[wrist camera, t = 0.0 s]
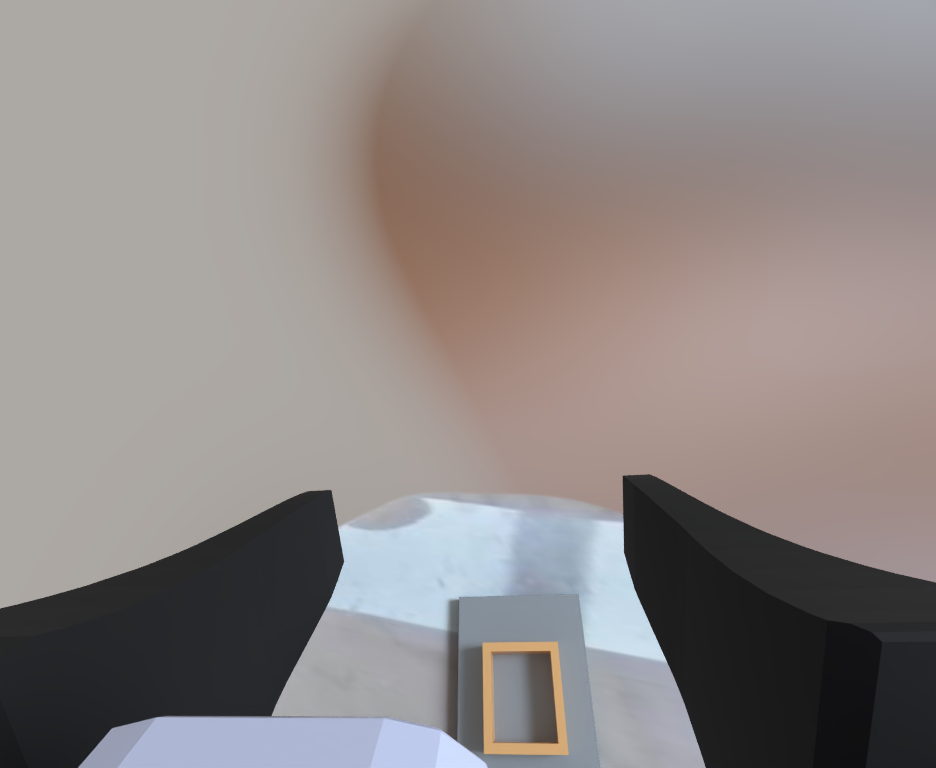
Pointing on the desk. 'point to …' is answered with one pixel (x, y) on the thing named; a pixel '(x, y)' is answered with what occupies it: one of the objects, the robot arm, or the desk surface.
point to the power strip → (525, 682)
